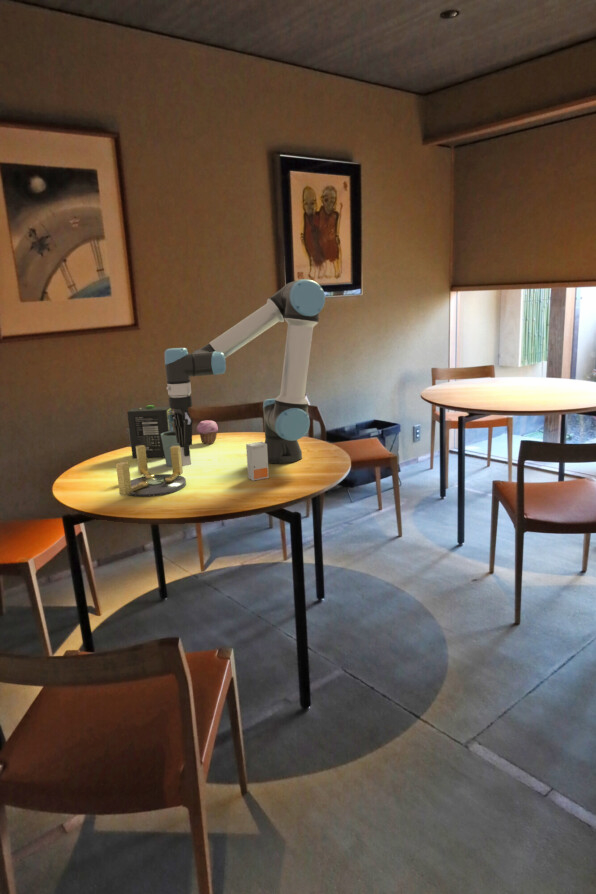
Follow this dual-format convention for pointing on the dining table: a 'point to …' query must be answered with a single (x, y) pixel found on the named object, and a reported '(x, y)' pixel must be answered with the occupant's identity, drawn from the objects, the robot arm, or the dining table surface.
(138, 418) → the router
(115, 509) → the dining table surface
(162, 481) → the levelling plate
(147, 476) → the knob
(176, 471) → the tan l-shaped bracket
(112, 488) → the dining table surface
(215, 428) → the cupcake
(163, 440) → the grey cup
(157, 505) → the dining table surface
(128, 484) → the ball-tipped golden bracket
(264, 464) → the skincare box
